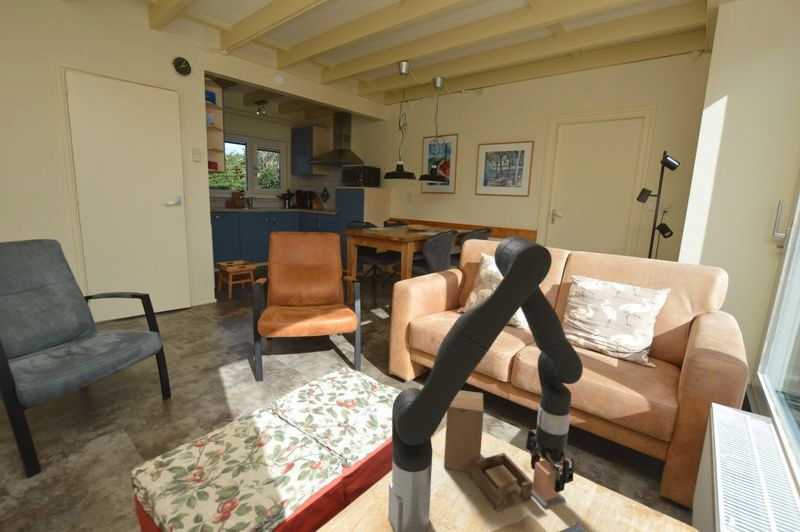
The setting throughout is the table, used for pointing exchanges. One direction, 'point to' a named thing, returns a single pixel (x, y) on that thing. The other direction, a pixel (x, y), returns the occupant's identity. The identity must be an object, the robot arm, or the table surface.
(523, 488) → the crate
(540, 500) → the pad
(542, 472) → the block
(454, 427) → the wooden block
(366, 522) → the table surface
